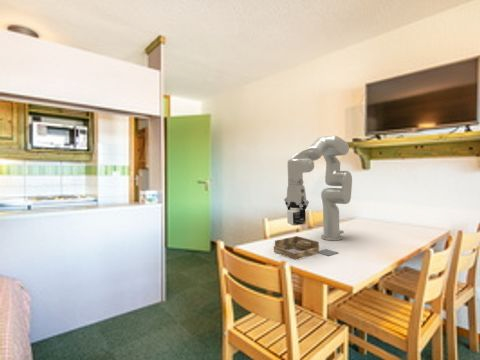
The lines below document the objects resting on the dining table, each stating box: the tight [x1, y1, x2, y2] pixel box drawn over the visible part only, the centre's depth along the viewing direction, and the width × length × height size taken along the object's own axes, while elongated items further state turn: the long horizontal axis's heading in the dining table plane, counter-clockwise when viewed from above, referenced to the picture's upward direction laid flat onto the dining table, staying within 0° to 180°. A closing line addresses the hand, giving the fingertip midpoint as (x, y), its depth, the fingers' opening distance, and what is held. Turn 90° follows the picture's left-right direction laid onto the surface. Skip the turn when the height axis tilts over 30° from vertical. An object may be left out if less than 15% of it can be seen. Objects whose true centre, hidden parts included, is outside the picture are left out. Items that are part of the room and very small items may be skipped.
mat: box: [318, 248, 340, 257], centre depth 139 cm, size 8×8×1 cm
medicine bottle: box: [286, 202, 307, 226], centre depth 139 cm, size 7×7×12 cm
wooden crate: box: [273, 235, 320, 261], centre depth 140 cm, size 17×16×6 cm
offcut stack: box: [295, 240, 312, 252], centre depth 144 cm, size 4×9×5 cm, turn 32°
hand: (296, 216), depth 139 cm, fingers closed on medicine bottle, 8 cm apart
